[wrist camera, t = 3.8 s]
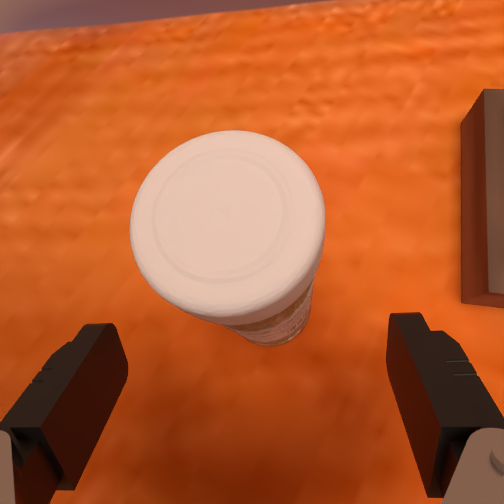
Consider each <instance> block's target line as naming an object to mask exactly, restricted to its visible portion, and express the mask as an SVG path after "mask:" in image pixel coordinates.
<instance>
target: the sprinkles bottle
mask: <svg viewBox="0 0 504 504" xmlns="http://www.w3.org/2000/svg"><path fill="white" fill-rule="evenodd" d="M325 219H326V218H325V206H324V200H323V195H322V193H321V190H320V187H319V184H318V182H317V180H316V178H315V176H314V175H313V173H312V171H311V170H310V168H309V167H308V166H307V164H306V163H305V162H304V161H303V160H302V159H301V158H300V157H299V156H298V155H297V154H296V153H295V152H294V151H293V150H291V149H290V148H288V147H287V146H285V145H284V144H282V143H280V142H279V141H277V140H275V139H272V138H270V137H268V136H265V135H261V134H258V133H254V132H249V131H238V130H233V131H219V132H213V133H209V134H205V135H202V136H199V137H196V138H194V139H191V140H189V141H187V142H185V143H183V144H181V145H179V146H178V147H176V148H175V149H173V150H172V151H170V152H169V153H168V154H167V155H166V156H164V157H163V158H162V159H161V160H160V161H159V162H158V163H157V164H156V165H155V166H154V168H153V169H152V170H151V171H150V172H149V174H148V175H147V177H146V178H145V180H144V181H143V183H142V185H141V187H140V189H139V191H138V193H137V195H136V198H135V201H134V204H133V208H132V213H131V218H130V241H131V247H132V251H133V254H134V258H135V260H136V263H137V266H138V268H139V270H140V272H141V274H142V275H143V277H144V278H145V279H146V281H147V282H148V283H149V285H150V286H151V287H152V288H153V289H154V290H155V291H156V292H157V293H158V294H159V295H160V296H161V297H162V298H163V299H165V300H166V301H168V302H169V303H171V304H172V305H174V306H175V307H177V308H179V309H181V310H183V311H184V312H186V313H188V314H190V315H192V316H194V317H197V318H199V319H202V320H204V321H208V322H212V323H215V324H221V325H223V326H225V327H226V328H228V329H230V330H232V331H234V332H236V333H238V334H239V335H241V336H243V337H244V338H246V339H247V340H248V341H250V342H252V343H254V344H258V345H261V346H278V345H282V344H285V343H287V342H289V341H291V340H292V339H294V338H295V337H296V336H297V335H298V334H299V333H300V332H301V331H302V329H303V327H304V326H305V325H306V323H307V321H308V318H309V313H310V308H311V304H310V303H311V297H312V292H313V285H314V278H315V273H316V271H317V269H318V267H319V263H320V260H321V256H322V251H323V245H324V237H325Z"/></svg>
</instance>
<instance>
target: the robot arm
mask: <svg viewBox="0 0 504 504" xmlns="http://www.w3.org/2000/svg"><path fill="white" fill-rule="evenodd" d="M386 364H387V371H388V376H389V380H390V383H391V386H392V389H393V392H394V395H395V398H396V401H397V404H398V408H399V411H400V414H401V417H402V420H403V423H404V426H405V429H406V432H407V435H408V438H409V442H410V445H411V448H412V451H413V454H414V457H415V460H416V463H417V466H418V469H419V472H420V475H421V479H422V482H423V485H424V488H425V491H426V494H427V497H428V498H444V499H443V501H442V504H504V417H503V416H502V414H501V412H500V411H499V409H498V407H497V406H496V404H495V402H494V401H493V399H492V397H491V396H490V394H489V392H488V391H487V389H486V387H485V386H484V384H483V382H482V381H481V379H480V377H479V376H477V373H476V371H475V369H474V368H473V366H472V364H471V363H469V359H468V358H467V356H466V354H465V353H464V351H463V349H462V348H461V346H460V344H459V343H458V342H456V341H455V340H454V339H453V338H451V337H450V336H449V335H448V334H446V333H445V332H444V331H430V329H429V327H428V325H427V323H426V322H425V320H424V318H423V316H422V314H421V313H419V312H413V313H391V314H390V317H389V326H388V339H387V351H386ZM127 376H128V362H127V359H126V356H125V353H124V350H123V347H122V344H121V341H120V338H119V335H118V332H117V329H116V327H115V325H114V324H112V323H101V324H86V325H84V326H83V327H82V329H81V330H80V331H79V333H78V334H77V336H76V337H75V338H74V340H73V341H72V342H67V343H66V344H65V345H64V346H62V347H61V348H60V349H59V350H57V351H56V352H55V353H53V354H52V355H51V357H50V358H49V359H48V361H47V362H46V363H45V365H44V366H43V367H42V371H39V373H38V374H37V375H36V376H35V378H34V379H33V380H32V381H33V382H32V384H29V386H28V387H27V388H26V390H25V391H24V392H23V393H22V395H21V396H20V397H19V399H18V400H17V401H16V403H15V404H14V405H13V407H12V408H11V409H10V411H9V412H8V413H7V414H6V416H5V417H4V418H3V420H2V421H1V422H0V504H50V501H51V499H52V497H53V495H54V493H55V491H56V490H73V491H74V490H75V488H76V486H77V484H78V482H79V479H80V477H81V475H82V473H83V471H84V469H85V467H86V465H87V463H88V461H89V458H90V456H91V454H92V452H93V450H94V448H95V446H96V444H97V442H98V440H99V438H100V435H101V433H102V431H103V429H104V427H105V425H106V423H107V421H108V419H109V417H110V414H111V412H112V410H113V408H114V406H115V404H116V402H117V400H118V398H119V396H120V393H121V391H122V389H123V387H124V385H125V383H126V380H127Z"/></svg>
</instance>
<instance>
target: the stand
mask: <svg viewBox="0 0 504 504" xmlns="http://www.w3.org/2000/svg"><path fill="white" fill-rule="evenodd" d="M461 242H462V303H466V304H474V305H482V306H491V307H499V308H504V89H483V91H482V92H481V94H480V96H479V97H478V99H477V100H476V102H475V103H474V105H473V106H472V108H471V109H470V111H469V112H468V114H467V115H466V117H465V118H464V120H463V121H462V123H461Z"/></svg>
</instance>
